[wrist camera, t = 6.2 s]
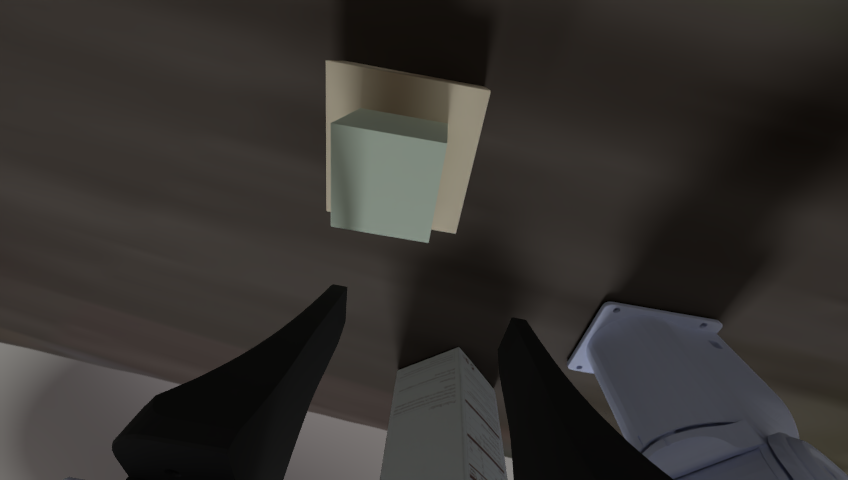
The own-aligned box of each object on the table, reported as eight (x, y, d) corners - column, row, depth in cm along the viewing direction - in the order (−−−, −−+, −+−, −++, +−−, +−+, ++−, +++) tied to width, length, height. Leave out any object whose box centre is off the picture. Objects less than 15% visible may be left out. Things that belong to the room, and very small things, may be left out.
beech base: (484, 86, 17) (490, 91, 15) (454, 213, 21) (455, 233, 19) (344, 60, 17) (325, 60, 14) (341, 192, 21) (326, 211, 19)
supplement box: (434, 408, 33) (427, 577, 22) (395, 368, 30) (365, 540, 19) (497, 389, 31) (523, 568, 20) (461, 343, 28) (469, 525, 17)
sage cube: (447, 123, 16) (447, 143, 12) (433, 203, 18) (428, 242, 14) (360, 108, 15) (330, 123, 12) (356, 190, 18) (330, 226, 14)
